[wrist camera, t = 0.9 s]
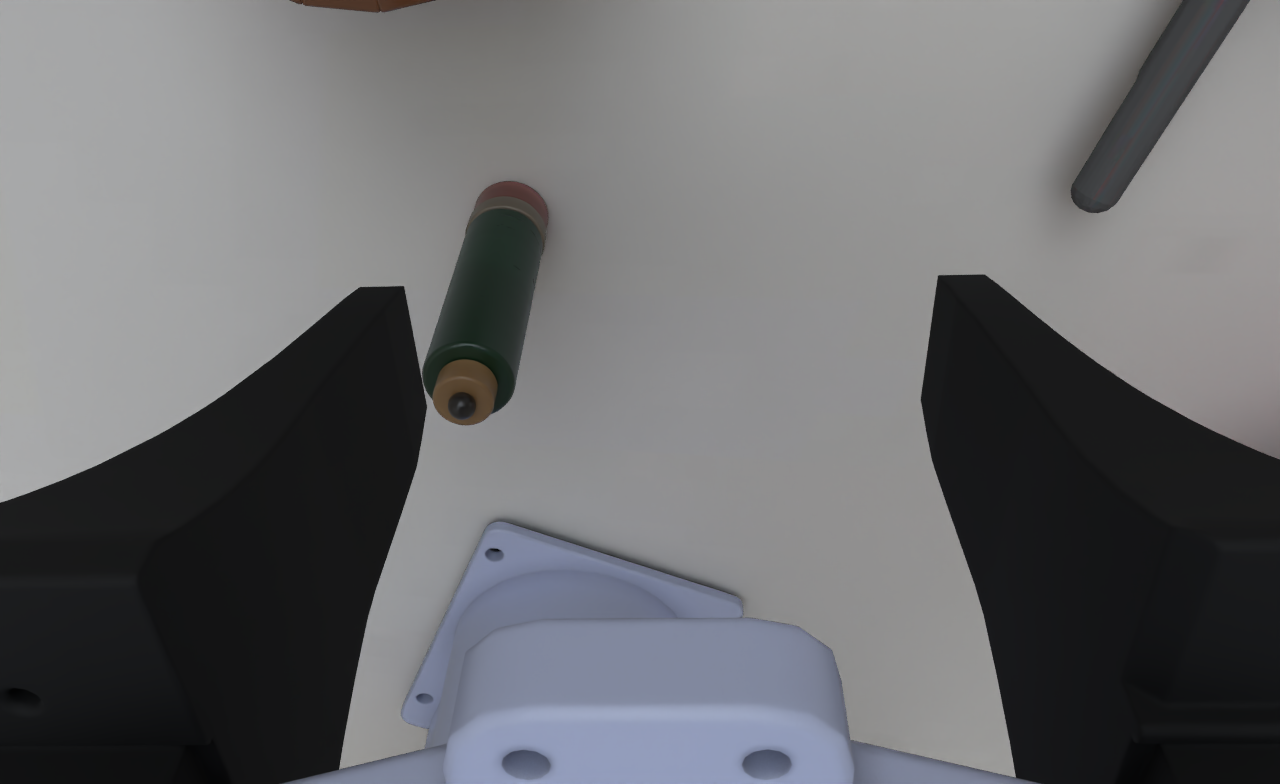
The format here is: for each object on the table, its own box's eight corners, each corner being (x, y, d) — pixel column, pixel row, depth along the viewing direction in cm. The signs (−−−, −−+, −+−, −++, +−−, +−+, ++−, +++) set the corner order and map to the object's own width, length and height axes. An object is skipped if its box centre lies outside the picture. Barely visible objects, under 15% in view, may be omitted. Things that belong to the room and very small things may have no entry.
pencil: (534, 258, 26) (491, 465, 20) (463, 231, 26) (397, 434, 20) (560, 196, 25) (523, 394, 19) (487, 167, 25) (425, 360, 19)
